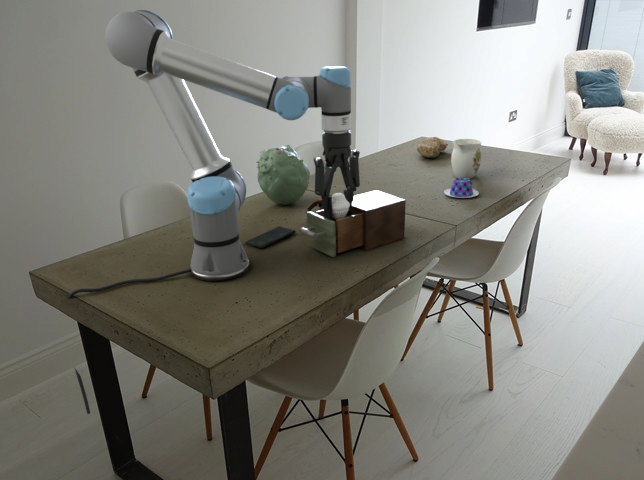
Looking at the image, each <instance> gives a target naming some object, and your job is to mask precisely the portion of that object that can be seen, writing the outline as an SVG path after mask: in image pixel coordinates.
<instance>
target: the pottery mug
mask: <svg viewBox="0 0 644 480" xmlns="http://www.w3.org/2000/svg"><path fill="white" fill-rule="evenodd" d="M317 206H318V208H319V209H317V210H315V211H312V210H313V209H314V208H315V207H317ZM323 209H324V208H322V198H319V199H316V200H314V201H313V202H311V203H310V204H309V205H307V207H306V210H305V214H306V215H307V212H310V211H311V212H313V213H316V211H320V210H323Z"/></svg>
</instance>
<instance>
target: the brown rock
mask: <svg viewBox="0 0 644 480" xmlns="http://www.w3.org/2000/svg"><path fill="white" fill-rule="evenodd" d="M448 146H449V143H448V142H447V141H446V140H444V139H442V138H439V137H437V136H431V137H428V138H426V139H424V140H422V141H420V142H419V143H418V144H417V146H416V151H417V153H418V154H419V155H421V156H422V157H425V158H429V159H433V158H436V157H438V156H440V154H441V152H443V151H445V150H446V149H447V147H448Z"/></svg>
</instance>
